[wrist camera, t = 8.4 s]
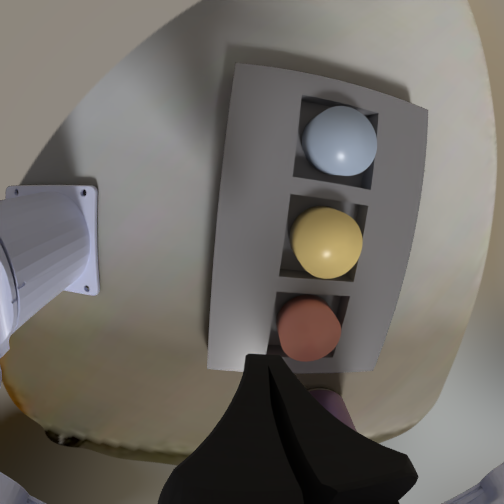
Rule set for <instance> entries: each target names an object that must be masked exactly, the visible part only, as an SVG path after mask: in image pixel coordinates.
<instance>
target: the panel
mask: <svg viewBox="0 0 504 504" xmlns="http://www.w3.org/2000/svg"><path fill="white" fill-rule="evenodd" d="M335 106H346V107H350V108H353V109H355V110H357V111H359V112H361V113H362V114H363V115H364V116H365V117H366V118H367V119H368V120H369V121H370V123H371V124H372V126H373V128H374V130H375V133H376V138H377V151H376V155H375V158H374V160H373V162H372V163H371V165H370V166H369V167H368V168H367V169H366V170H364V171H363V172H361V173H359V174H356V175H351V176H342V175H329V174H325V173H323V172H321V171H319V170H317V169H316V168H314V167H313V166H312V165H311V164H310V162H309V161H308V160H307V158H306V156H305V154H304V151H303V147H302V135H303V132H304V129H305V127H306V125H307V124H308V123H309V122H310V120H312V119H313V118H314V117H316V116H317V115H319V114H320V113H322V112H323V111H325V110H327V109H329V108H331V107H335ZM427 128H428V110H427V109H425V108H422V107H420V106H417V105H415V104H412V103H410V102H407V101H404V100H402V99H399V98H396V97H393V96H390V95H387V94H384V93H381V92H378V91H375V90H372V89H369V88H366V87H362V86H359V85H355V84H352V83H348V82H344V81H340V80H336V79H332V78H328V77H324V76H319V75H315V74H310V73H305V72H300V71H294V70H288V69H282V68H276V67H269V66H261V65H253V64H243V63H236V64H235V70H234V77H233V84H232V91H231V99H230V106H229V114H228V122H227V130H226V138H225V146H224V155H223V164H222V173H221V183H220V193H219V203H218V213H217V224H216V236H215V248H214V261H213V274H212V288H211V304H210V321H209V340H208V362H207V369H215V370H227V371H242V372H243V371H244V364H245V356H246V355H247V354H268V355H280V356H281V357H282V358H283V359H284V361H285V362H286V364H287V365H288V367H289V368H290V369H291V371H292V372H293V373H342V372H360V371H373V370H374V367H375V365H376V362H377V360H378V357H379V354H380V352H381V349H382V346H383V344H384V341H385V338H386V335H387V332H388V329H389V326H390V323H391V320H392V317H393V314H394V311H395V308H396V304H397V301H398V298H399V294H400V291H401V287H402V284H403V280H404V276H405V272H406V268H407V264H408V260H409V256H410V251H411V247H412V242H413V238H414V233H415V227H416V222H417V217H418V211H419V205H420V198H421V191H422V184H423V176H424V167H425V157H426V145H427ZM314 206H328V207H331V208H333V209H336V210H338V211H341V212H343V213H345V214H347V215H349V216H350V217H352V218H353V219H354V220H355V222H356V223H357V224H358V226H359V228H360V231H361V234H362V250H361V254H360V256H359V259H358V260H357V262H356V263H355V265H354V266H353V267H352V268H351V269H350V270H349V271H348V272H346V273H345V274H343V275H341V276H339V277H336V278H331V279H323V278H318V277H315V276H313V275H311V274H310V273H308V272H307V271H306V270H305V269H304V268H303V266H302V265H301V263H300V262H299V260H298V259H297V257H296V256H295V254H294V253H293V251H292V249H291V246H290V231H291V227H292V225H293V223H294V221H295V219H296V218H297V217H298V216H299V215H300V214H301V213H302V212H303V211H305V210H306V209H308V208H311V207H314ZM301 295H315V296H318V297H320V298H322V299H323V300H325V301H326V302H327V304H328V305H329V307H330V308H331V310H332V311H333V313H334V314H335V316H336V317H337V319H338V321H339V323H340V326H341V336H340V339H339V342H338V344H337V345H336V347H335V348H334V349H333V350H332V351H331V352H330V353H329V354H327V355H326V356H324V357H322V358H320V359H318V360H314V361H307V362H304V361H297V360H294V359H292V358H290V357H289V356H288V355H287V354H286V353H285V352H284V351H283V349H282V346H281V343H280V339H279V335H278V331H277V326H276V319H277V315H278V313H279V311H280V309H281V308H282V306H283V305H284V304H285V303H287V302H288V301H289V300H291V299H293V298H295V297H297V296H301Z"/></svg>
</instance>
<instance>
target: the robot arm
mask: <svg viewBox="0 0 504 504" xmlns="http://www.w3.org/2000/svg"><path fill="white" fill-rule="evenodd" d="M84 189H85V190H86V196H84V194H83V190H84ZM17 190H18V193H17ZM97 195H98V192H97V188H96V187H95V186H93V185H18V186H8V187H7V189H6V199H5V200H0V358H1V357H2V356H3V355H4V354H5V353H6V352H7V351H8V350H9V349H10V348H9V338H10V336H11V334H12V333H14V332H15V331H16V330H17V329H18V328H19V327H20V326H21V325H23V324H24V323H25V322H26V321H27V320H28V319H29V318H31V317H32V316H33V315H34V314H35V313H36V312H38V311H39V310H40V309H41V308H42V307H43V306H45V305H46V304H47V303H48V302H49V301H51V300H52V299H53V298H54V297H56V296H57V295H58V294H59V293H60V292H62V291H63V290H65V291H70V292H76V293H81V294H87V295H93V296H95V295H97V294H98V293H99V291H100V284H99V270H98V250H97ZM86 285H87V286H88V287H89V289H90V290H88V289H87V288H86ZM1 381H2V372H1V367H0V387H1ZM417 479H418V475H417V472H416V470H415V468H414V467H413V465H412V463H411V461H410V459H409V458H408V456H407V455H406V454H403V453H400V452H397V451H395V450H392V449H390V448H387V447H385V446H382V445H380V444H378V443H376V442H374V441H372V440H370V439H368V438H366V437H365V436H363V435H361V434H359V433H358V432H356V431H355V430H353V429H352V428H350V427H348V426H347V425H345V424H344V423H343V422H341V421H340V420H339V419H337V418H336V417H335V416H334V415H332V414H331V413H330V412H329V411H328V410H326V409H325V408H324V407H323V406H322V405H321V404H320V403H319V402H318V401H317V400H316V399H315V398H314V397H313V396H312V395H311V394H310V393H309V392H308V390H307V389H306V388H305V387H304V386H303V385H302V383H301V382H300V381H299V380H298V378H297V377H296V376H295V375H294V373H293V372H292V371H291V369H290V368H289V367H288V365H287V364H286V362H285V361H284V359H283V358H282V357H281V356H280V355H268V354H247V355H246V356H245V364H244V371H243V376H242V379H241V381H240V384H239V387H238V389H237V391H236V393H235V395H234V397H233V399H232V401H231V403H230V405H229V407H228V409H227V410H226V412H225V414H224V415H223V417H222V418H221V420H220V421H219V422H218V424H217V425H216V427H215V428H214V429H213V431H212V432H211V433H210V434H209V436H208V437H207V438H206V439H205V440H204V441H203V442H202V443H201V444H200V446H199V447H198V448H197V449H196V450H195V451H194V452H193V453H192V454H191V455H190V456H189V457H187V458H186V459H185V460H184V461H183V462H182V463H180V464H179V465H178V466H177V467H176V468H175V469H174V470H173V472H172V473H171V475H170V476H169V478H168V480H167V482H166V483H165V485H164V487H163V489H162V491H161V494H160V497H159V500H158V504H399V502H398V500H399V499H401V498H402V497H403V496H404V495H405V494H406V493H407V492H408V491H409V490H410V489H411V488H412V487H413V486H414V485H415V483H416V481H417ZM0 504H46V503H44V502H42V501H40V500H38V499H36V498H34V497H32V496H30V495H29V494H28V493H27V491H26V490H25V489H24V488H23V487H22V486H20V485H19V484H18V483H16V482H15V481H14V480H12V479H10V478H9V477H7V476H6V475H4V474H3V473H1V472H0ZM442 504H504V463H502V464H501V465H499V466H498V467H496V468H495V469H493V470H492V471H491V472H490V473H488V474H487V475H486V476H485V477H484V478H483V479H482V480H481V481H480V483H478V484H477V485H475V486H473V487H472V488H470V489H468V490H466V491H465V492H463V493H461V494H459V495H457V496H456V497H454V498H452V499H450V500H448V501H446V502H444V503H442Z"/></svg>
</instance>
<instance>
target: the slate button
mask: <svg viewBox="0 0 504 504" xmlns="http://www.w3.org/2000/svg"><path fill="white" fill-rule="evenodd" d="M302 147H303V151H304V154H305V156H306V158H307V160H308V161H309V162H310V164H311V165H312V166H313V167H314V168H316V169H317V170H319V171H321V172H323V173H325V174H329V175H342V176H351V175H356V174H359V173H361V172H363V171H364V170H366V169H367V168H368V167H369V166H370V165H371V163H372V162H373V160H374V158H375V155H376V151H377V138H376V133H375V130H374V128H373V126H372V124H371V123H370V121H369V120H368V119H367V118H366V117H365V116H364V115H363V114H362V113H361V112H359V111H357V110H355V109H353V108H350V107H346V106H335V107H331V108H329V109H327V110H325V111H323V112H322V113H320V114H319V115H317V116H316V117H314V118H313V119H312V120H310V122H309V123H308V124H307V125H306V127H305V129H304V132H303V135H302Z"/></svg>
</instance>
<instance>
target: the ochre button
mask: <svg viewBox="0 0 504 504" xmlns="http://www.w3.org/2000/svg"><path fill="white" fill-rule="evenodd" d="M290 246H291V249H292V251H293V253H294V254H295V256H296V257H297V259H298V260H299V262H300V263H301V265H302V266H303V268H304V269H305V270H306V271H307V272H308V273H310V274H311V275H313V276H315V277H318V278H323V279H331V278H336V277H339V276H341V275H343V274H345V273H346V272H348V271H349V270H350V269H351V268H352V267H353V266H354V265H355V263H356V262H357V260H358V259H359V256H360V254H361V250H362V234H361V231H360V228H359V226H358V224H357V223H356V222H355V220H354V219H353V218H352V217H350V216H349V215H347V214H345V213H343V212H341V211H338V210H336V209H333V208H331V207H328V206H314V207H311V208H308V209H306V210H305V211H303V212H302V213H301V214H300V215H299V216H298V217H297V218H296V219H295V221H294V223H293V225H292V227H291V231H290Z"/></svg>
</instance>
